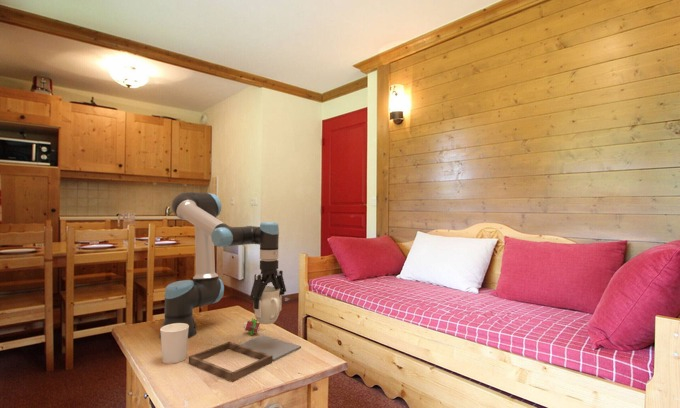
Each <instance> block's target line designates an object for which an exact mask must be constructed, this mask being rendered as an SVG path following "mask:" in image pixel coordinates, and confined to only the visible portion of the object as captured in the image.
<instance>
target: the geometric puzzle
mask: <svg viewBox="0 0 680 408" xmlns="http://www.w3.org/2000/svg"><path fill="white" fill-rule="evenodd" d="M250 320H251V321H250ZM250 320H247V321H245V322H244V324H243V330H244V331H245V332H246V333H247V334H248V335H250V336H251V337H252V336H253V335H254V333H255V334H256V333H258V332H259V331H260V329H261V326H260V323H259V322H258V321H257V319H256V318H253V317H252V318H250Z"/></svg>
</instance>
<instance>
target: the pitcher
mask: <svg viewBox="0 0 680 408" xmlns="http://www.w3.org/2000/svg"><path fill="white" fill-rule="evenodd" d="M279 292H280V289H275V288H274V286H273V285H272V286H270V285H266V286H265V289H264V291H263V293H262V296H261V298H260V301H261V317H260V318H259V317H255V320H257V323H260V324H261V325H270V324H274V323H275V322H276V321H277V320H278V318H279V315H280V312H281V311H280V306H281V302H280V297H279ZM252 307H253V314H254V315H255V309H254V303H253V305H252ZM260 324H259V325H260Z"/></svg>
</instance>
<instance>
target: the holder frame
mask: <svg viewBox="0 0 680 408" xmlns="http://www.w3.org/2000/svg"><path fill="white" fill-rule="evenodd" d="M229 350H230V351H232V352H235V353H238V354H241V355H244V356H247V357H250V358H253V359H257V360H256V361H254V362H251V363H249V364H247V365H245V366H243V367H241V368H238V369H236V370H234V371H232V370H229V369H227V368H224V367H221V366H220V365H217V364H215V363H212V362H209V361H207V360H205V359H208V358H210V357H213V356H215V355H218V354H220V353H223V352H225V351H229ZM272 363H273V361H272V355H269V354H266V353H263V352H260V351H257V350H254V349H251V348H248V347H245V346H241V345H239V344H238V343H235V342H232V341H227V342H223V343H222V344H218V345H216V346H213V347H211V348H208V349H205V350H203V351H200V352H198V353H195V354H192V355H189V356H188V363H187V364H189V365H191V366H194V367H196V368H199V369H201V370H203V371H206V372H208V373H210V374H213V375H215V376H218V377H220V378H223V379H224V380H227V381H229V382H232V383H233V382H235V381H237V380H239V379H241V378H244V377H246V376H248V375H250V374H252V373H254V372H256V371H257V370H260V369H262V368H264V367H266V366H268V365H270V364H272Z"/></svg>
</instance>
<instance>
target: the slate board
mask: <svg viewBox="0 0 680 408" xmlns="http://www.w3.org/2000/svg"><path fill="white" fill-rule="evenodd" d="M238 345H241V346H245V347H248V348H251V349H254V350H257V351H260V352H263V353H266V354H269V355H272V362H275V361H277V360H279V359H282V358H284V357H286V356H288V355H290V354H292V353H295V352H296V351H298V350H300V349H302V345H299V344H296V343H292V342H289V341H285V340H281V339H279V338H274V337H271V336H267V335H264V334H262V335H260V336H258V337H254V338H252V339H250V340H248V341H244V342H242V343H239V344H238Z"/></svg>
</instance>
